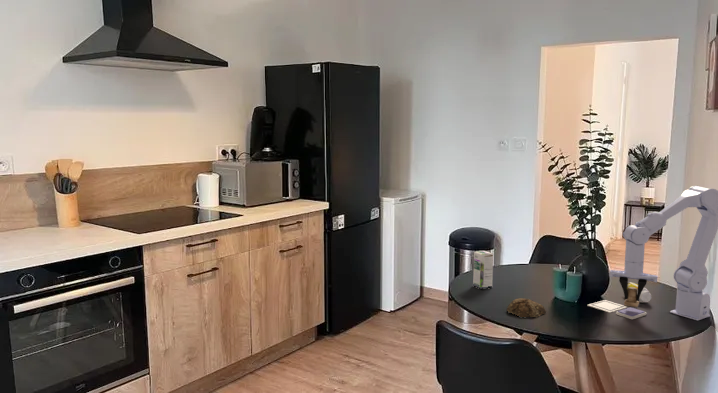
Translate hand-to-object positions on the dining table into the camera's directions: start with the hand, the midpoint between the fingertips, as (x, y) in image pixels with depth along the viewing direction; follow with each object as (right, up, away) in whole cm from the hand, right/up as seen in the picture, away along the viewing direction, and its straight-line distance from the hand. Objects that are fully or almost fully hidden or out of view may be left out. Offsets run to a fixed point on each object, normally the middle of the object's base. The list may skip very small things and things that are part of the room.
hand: (631, 299), depth 187 cm
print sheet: (-4, -4, +9) cm, 11 cm away
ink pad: (0, -5, +1) cm, 5 cm away
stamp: (0, -2, 0) cm, 2 cm away
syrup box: (-44, -2, +34) cm, 55 cm away
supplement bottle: (+9, 0, +21) cm, 23 cm away
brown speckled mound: (-35, -6, +5) cm, 36 cm away
